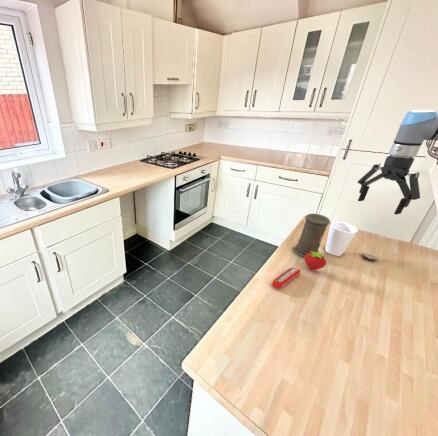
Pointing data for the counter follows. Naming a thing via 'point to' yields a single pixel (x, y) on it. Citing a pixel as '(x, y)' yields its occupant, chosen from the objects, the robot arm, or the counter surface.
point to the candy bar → (285, 278)
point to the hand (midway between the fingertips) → (378, 206)
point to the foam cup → (339, 237)
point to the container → (312, 234)
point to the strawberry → (314, 261)
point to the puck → (369, 257)
